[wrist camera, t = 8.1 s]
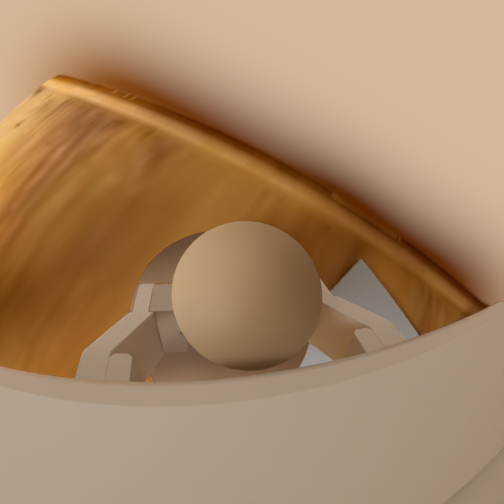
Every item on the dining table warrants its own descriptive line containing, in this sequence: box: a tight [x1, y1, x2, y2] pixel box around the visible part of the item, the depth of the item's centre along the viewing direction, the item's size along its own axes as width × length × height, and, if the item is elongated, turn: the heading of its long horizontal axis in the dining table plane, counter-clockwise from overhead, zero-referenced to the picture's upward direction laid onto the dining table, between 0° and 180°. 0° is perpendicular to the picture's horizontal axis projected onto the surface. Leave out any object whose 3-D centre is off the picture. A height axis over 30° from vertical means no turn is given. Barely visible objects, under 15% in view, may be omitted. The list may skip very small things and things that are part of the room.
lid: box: [130, 221, 322, 382], centre depth 10 cm, size 10×10×10 cm
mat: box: [299, 259, 419, 368], centre depth 25 cm, size 14×14×1 cm
